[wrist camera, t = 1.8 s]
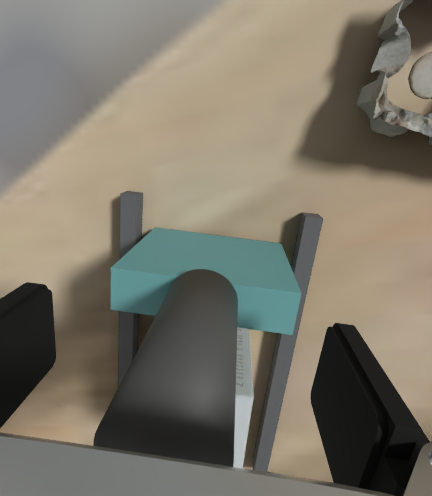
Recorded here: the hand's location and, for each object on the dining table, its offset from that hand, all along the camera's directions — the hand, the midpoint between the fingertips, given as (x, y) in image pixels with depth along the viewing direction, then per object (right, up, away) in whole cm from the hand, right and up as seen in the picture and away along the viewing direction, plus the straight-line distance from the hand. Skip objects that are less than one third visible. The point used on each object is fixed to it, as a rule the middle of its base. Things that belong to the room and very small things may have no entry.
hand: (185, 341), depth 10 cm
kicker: (+1, +3, +9) cm, 10 cm away
